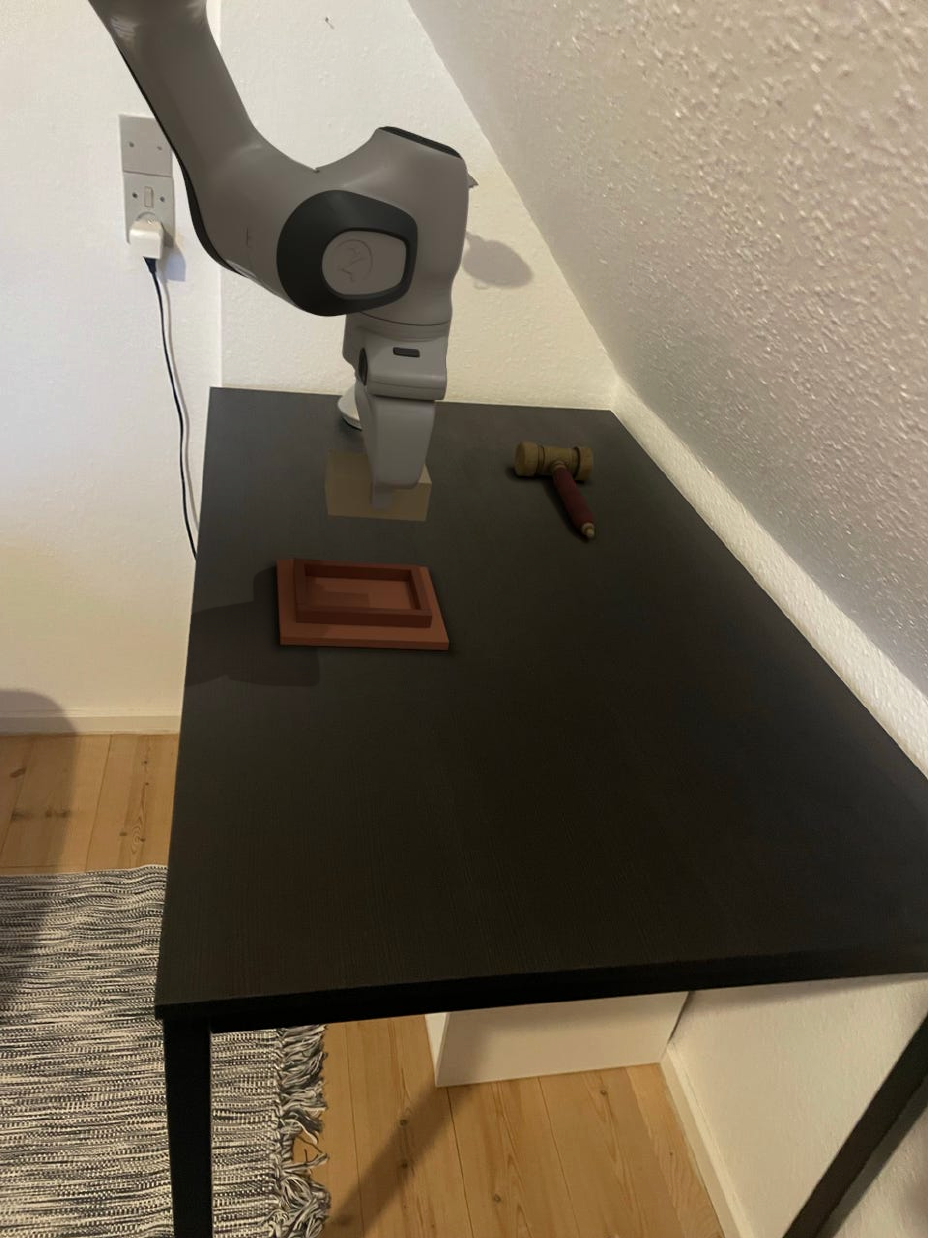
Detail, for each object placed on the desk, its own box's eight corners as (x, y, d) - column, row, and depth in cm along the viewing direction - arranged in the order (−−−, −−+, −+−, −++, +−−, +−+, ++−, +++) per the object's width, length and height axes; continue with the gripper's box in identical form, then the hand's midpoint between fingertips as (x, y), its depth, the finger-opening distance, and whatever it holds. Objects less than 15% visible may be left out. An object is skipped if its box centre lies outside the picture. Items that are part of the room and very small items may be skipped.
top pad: (328, 515, 86) (332, 475, 83) (324, 488, 90) (328, 449, 88) (425, 521, 88) (432, 483, 86) (417, 494, 92) (423, 457, 90)
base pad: (280, 644, 88) (282, 622, 86) (276, 566, 99) (278, 546, 98) (447, 650, 92) (451, 629, 90) (425, 574, 103) (429, 554, 102)
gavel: (634, 522, 115) (557, 517, 113) (623, 553, 118) (548, 548, 116) (587, 441, 132) (519, 435, 129) (579, 470, 134) (511, 464, 132)
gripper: (348, 301, 88) (334, 439, 95) (370, 381, 72) (351, 540, 79) (414, 310, 90) (395, 444, 97) (451, 389, 73) (425, 544, 81)
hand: (376, 488), depth 88 cm, fingers closed on top pad, 5 cm apart
